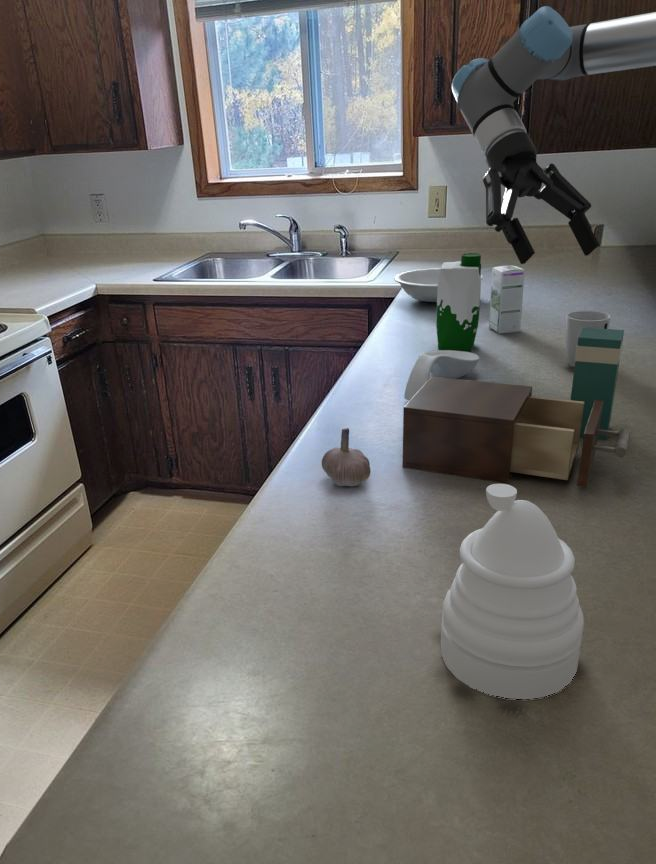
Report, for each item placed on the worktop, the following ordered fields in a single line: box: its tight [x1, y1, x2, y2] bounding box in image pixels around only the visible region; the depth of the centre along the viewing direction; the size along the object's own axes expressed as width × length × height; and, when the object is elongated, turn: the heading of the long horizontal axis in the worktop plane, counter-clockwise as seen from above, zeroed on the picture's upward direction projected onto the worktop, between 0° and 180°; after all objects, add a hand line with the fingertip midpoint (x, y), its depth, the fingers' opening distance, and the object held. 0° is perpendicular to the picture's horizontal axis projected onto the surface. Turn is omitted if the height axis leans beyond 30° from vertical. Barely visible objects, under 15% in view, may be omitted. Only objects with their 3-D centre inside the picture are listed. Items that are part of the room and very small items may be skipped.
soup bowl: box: [393, 267, 484, 303], centre depth 204 cm, size 24×24×7 cm
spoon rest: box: [403, 349, 480, 401], centre depth 142 cm, size 24×12×7 cm, turn 151°
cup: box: [565, 310, 611, 368], centre depth 147 cm, size 8×8×10 cm
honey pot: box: [440, 483, 585, 701], centre depth 68 cm, size 13×13×18 cm
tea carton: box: [570, 327, 625, 441], centre depth 116 cm, size 6×6×16 cm
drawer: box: [510, 395, 631, 488], centre depth 106 cm, size 19×13×8 cm
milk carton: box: [435, 252, 482, 353], centre depth 160 cm, size 9×9×20 cm
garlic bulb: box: [321, 427, 371, 487], centre depth 106 cm, size 8×7×8 cm
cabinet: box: [401, 376, 533, 484], centre depth 111 cm, size 16×15×10 cm
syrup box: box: [488, 265, 526, 334], centre depth 172 cm, size 6×6×14 cm
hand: (560, 254), depth 116 cm, fingers open, 13 cm apart
